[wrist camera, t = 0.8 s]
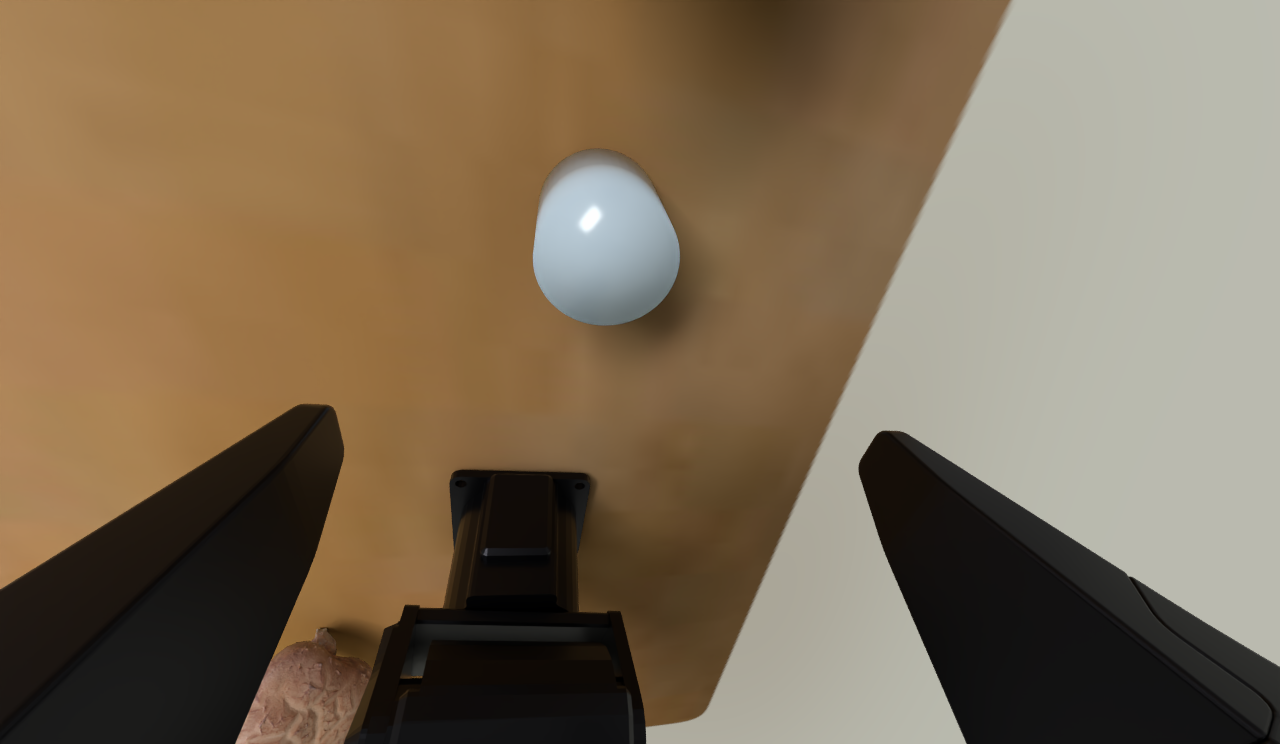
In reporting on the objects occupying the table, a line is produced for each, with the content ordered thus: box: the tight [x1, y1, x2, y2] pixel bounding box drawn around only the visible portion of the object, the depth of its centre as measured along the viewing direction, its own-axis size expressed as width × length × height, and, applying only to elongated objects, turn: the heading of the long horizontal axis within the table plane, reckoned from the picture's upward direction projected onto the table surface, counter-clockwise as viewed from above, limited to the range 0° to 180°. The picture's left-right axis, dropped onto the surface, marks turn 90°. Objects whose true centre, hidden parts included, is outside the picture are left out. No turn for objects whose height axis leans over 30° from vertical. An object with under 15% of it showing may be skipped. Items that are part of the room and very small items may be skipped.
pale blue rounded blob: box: [533, 149, 680, 325], centre depth 15 cm, size 4×4×4 cm
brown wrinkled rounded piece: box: [235, 628, 372, 744], centre depth 27 cm, size 8×6×8 cm
